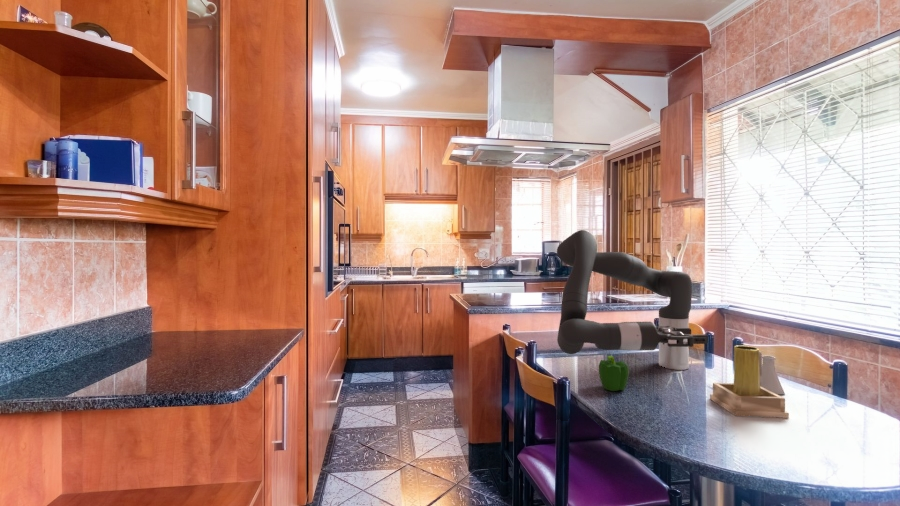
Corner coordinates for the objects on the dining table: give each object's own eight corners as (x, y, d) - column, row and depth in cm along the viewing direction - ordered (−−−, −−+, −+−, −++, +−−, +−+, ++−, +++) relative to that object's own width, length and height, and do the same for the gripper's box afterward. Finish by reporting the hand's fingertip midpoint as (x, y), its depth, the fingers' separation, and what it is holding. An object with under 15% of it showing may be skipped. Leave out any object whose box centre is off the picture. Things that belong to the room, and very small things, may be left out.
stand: (708, 398, 113) (709, 350, 113) (758, 399, 112) (758, 351, 112) (735, 416, 101) (736, 362, 101) (792, 418, 100) (792, 363, 100)
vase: (735, 397, 111) (735, 343, 110) (763, 403, 106) (763, 347, 106) (729, 403, 106) (729, 347, 106) (758, 409, 102) (758, 351, 102)
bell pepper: (615, 383, 126) (614, 350, 126) (634, 391, 118) (634, 357, 118) (591, 386, 124) (591, 352, 124) (610, 395, 116) (610, 359, 116)
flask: (790, 396, 115) (790, 360, 115) (761, 394, 116) (761, 359, 116) (775, 388, 122) (775, 354, 122) (747, 386, 123) (747, 353, 123)
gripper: (644, 327, 103) (713, 326, 101) (625, 317, 117) (685, 316, 116) (645, 357, 103) (713, 356, 102) (626, 343, 117) (685, 343, 116)
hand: (698, 335), depth 109 cm, fingers open, 8 cm apart
